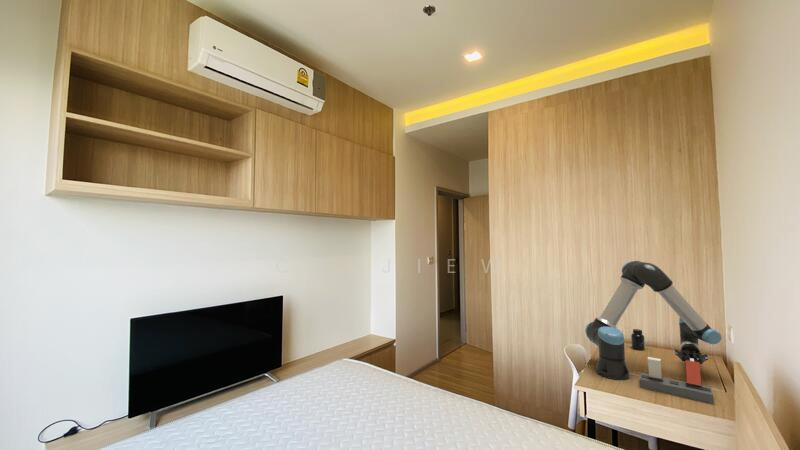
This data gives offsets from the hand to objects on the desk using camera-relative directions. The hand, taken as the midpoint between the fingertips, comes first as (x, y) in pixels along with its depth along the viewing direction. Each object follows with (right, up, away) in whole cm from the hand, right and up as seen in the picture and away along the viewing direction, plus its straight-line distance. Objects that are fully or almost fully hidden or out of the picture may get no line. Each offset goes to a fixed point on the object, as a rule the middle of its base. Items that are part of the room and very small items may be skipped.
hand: (692, 365), depth 155 cm
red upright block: (-5, -7, -6) cm, 10 cm away
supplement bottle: (+13, -13, +53) cm, 56 cm away
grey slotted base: (-10, -12, -1) cm, 15 cm away
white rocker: (-15, -7, +3) cm, 17 cm away
